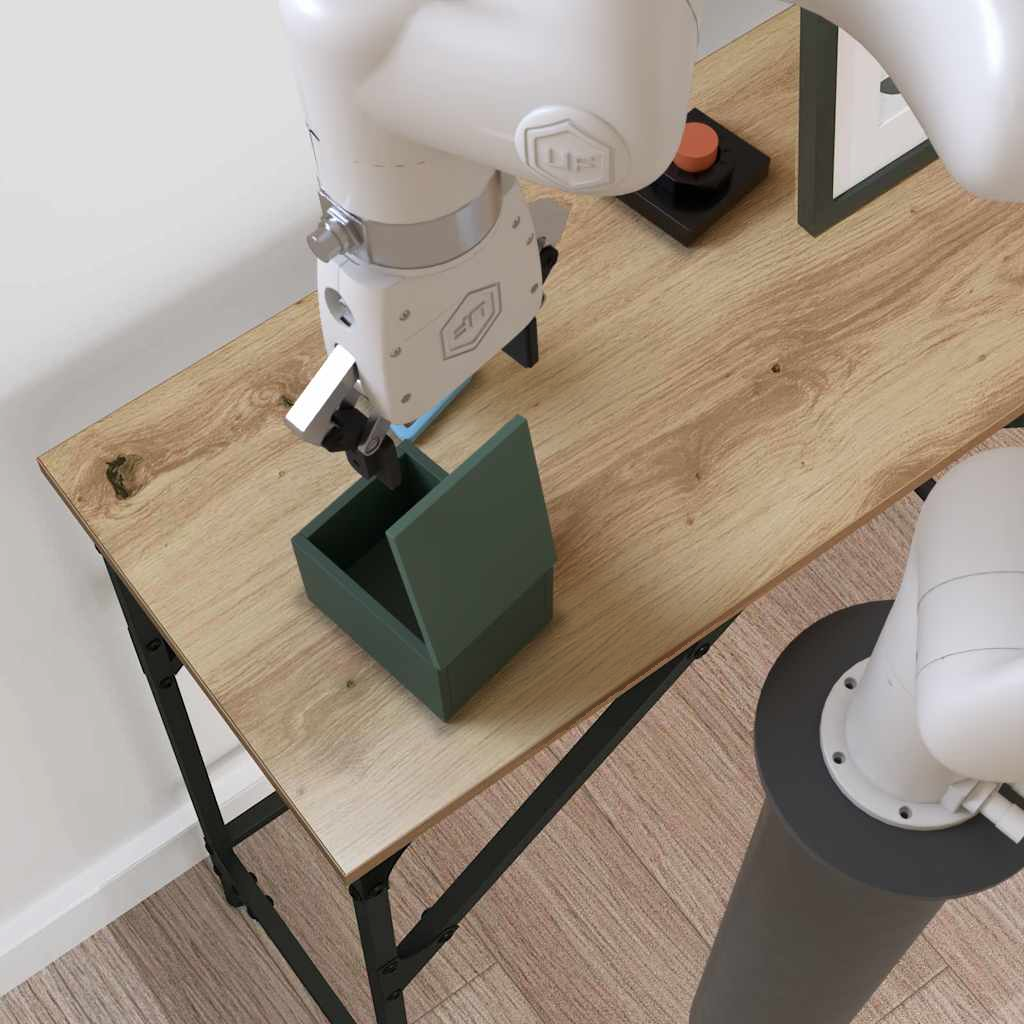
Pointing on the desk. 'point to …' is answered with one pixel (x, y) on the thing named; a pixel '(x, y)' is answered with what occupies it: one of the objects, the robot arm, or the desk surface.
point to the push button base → (701, 186)
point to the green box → (403, 589)
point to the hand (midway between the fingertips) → (445, 409)
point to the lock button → (697, 148)
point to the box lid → (475, 542)
